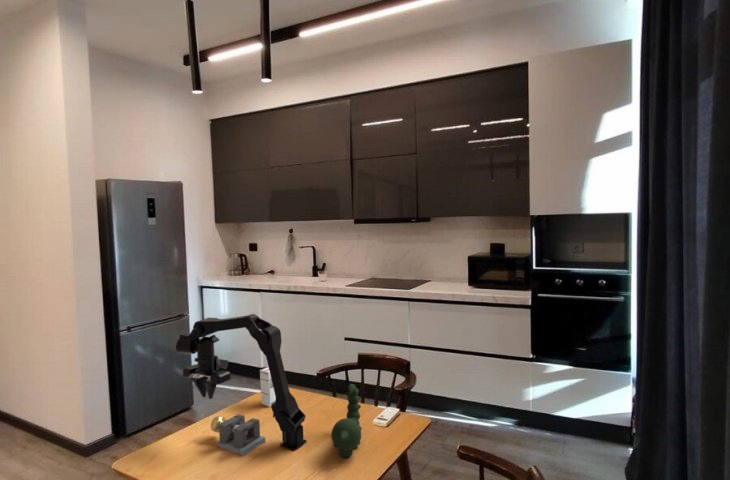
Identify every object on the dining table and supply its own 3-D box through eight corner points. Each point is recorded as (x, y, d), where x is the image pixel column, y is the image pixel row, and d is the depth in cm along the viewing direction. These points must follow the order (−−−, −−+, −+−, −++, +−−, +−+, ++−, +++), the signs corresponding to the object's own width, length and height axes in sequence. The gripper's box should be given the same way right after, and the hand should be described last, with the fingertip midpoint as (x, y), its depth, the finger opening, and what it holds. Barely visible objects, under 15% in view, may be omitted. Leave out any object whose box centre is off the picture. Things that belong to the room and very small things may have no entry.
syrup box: (270, 407, 173) (269, 372, 172) (260, 404, 176) (259, 369, 176) (281, 402, 177) (279, 368, 177) (271, 399, 181) (270, 365, 181)
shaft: (252, 437, 145) (252, 422, 144) (241, 443, 140) (241, 428, 140) (222, 427, 152) (221, 413, 152) (211, 433, 148) (210, 419, 147)
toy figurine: (341, 433, 153) (326, 466, 128) (341, 379, 154) (326, 402, 129) (367, 434, 152) (357, 467, 127) (367, 380, 153) (356, 402, 128)
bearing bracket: (265, 441, 145) (264, 420, 145) (243, 455, 137) (242, 432, 136) (240, 433, 151) (239, 413, 151) (217, 446, 143) (216, 424, 142)
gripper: (241, 351, 153) (243, 394, 154) (206, 345, 163) (208, 385, 163) (217, 360, 144) (218, 405, 144) (181, 353, 153) (182, 396, 154)
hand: (207, 397), depth 152 cm, fingers open, 3 cm apart
